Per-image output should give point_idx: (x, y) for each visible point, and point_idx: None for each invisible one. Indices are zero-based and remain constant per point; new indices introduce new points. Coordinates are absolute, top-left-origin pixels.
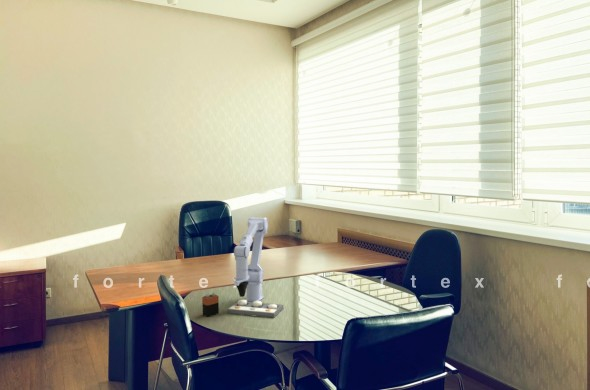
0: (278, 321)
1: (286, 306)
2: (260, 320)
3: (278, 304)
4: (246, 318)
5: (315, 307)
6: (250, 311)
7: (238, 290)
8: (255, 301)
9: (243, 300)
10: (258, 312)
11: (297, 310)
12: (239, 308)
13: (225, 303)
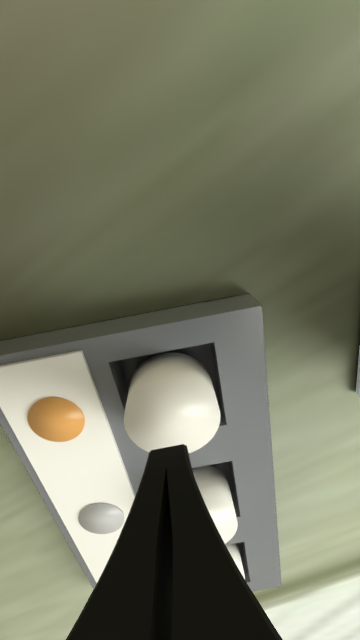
0: (78, 612)
1: (317, 549)
2: (32, 561)
3: (277, 568)
4: (3, 500)
5: (338, 625)
6: (56, 521)
7: (117, 547)
8: (211, 511)
9: (192, 421)
10: (78, 555)
11: (269, 601)
12: (48, 443)
13: (238, 119)
